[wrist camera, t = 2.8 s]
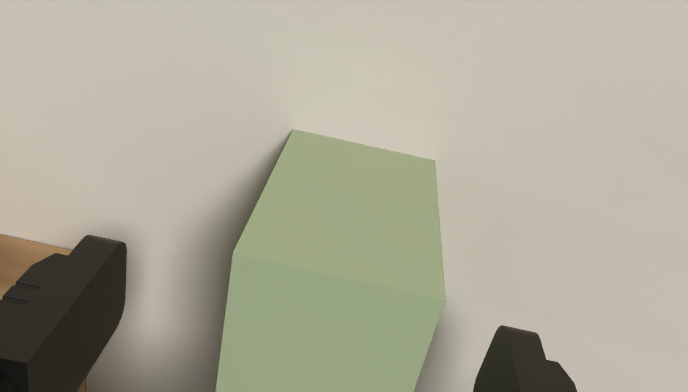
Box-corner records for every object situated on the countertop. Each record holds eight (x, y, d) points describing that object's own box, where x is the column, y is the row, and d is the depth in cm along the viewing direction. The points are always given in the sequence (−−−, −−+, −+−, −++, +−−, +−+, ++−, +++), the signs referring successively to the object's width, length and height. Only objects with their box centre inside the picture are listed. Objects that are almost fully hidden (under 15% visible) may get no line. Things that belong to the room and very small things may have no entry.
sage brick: (293, 128, 14) (233, 252, 10) (434, 159, 14) (445, 299, 10) (262, 317, 17) (203, 487, 12) (380, 343, 17) (367, 523, 12)
